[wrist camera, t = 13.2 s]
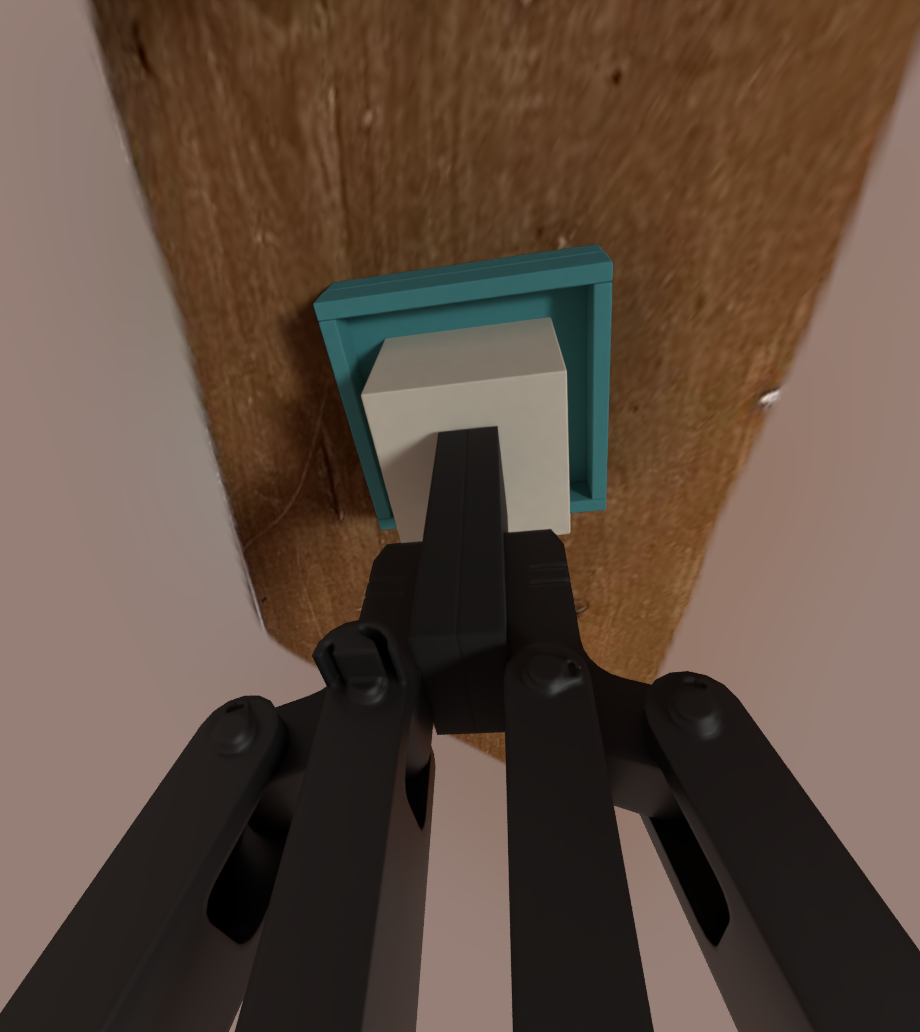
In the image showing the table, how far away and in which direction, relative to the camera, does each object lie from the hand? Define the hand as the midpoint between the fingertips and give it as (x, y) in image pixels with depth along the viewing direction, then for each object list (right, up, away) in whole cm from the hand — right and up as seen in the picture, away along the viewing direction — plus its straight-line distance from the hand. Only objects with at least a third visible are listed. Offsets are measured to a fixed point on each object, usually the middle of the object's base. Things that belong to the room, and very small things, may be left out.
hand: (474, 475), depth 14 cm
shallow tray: (0, +3, +4) cm, 5 cm away
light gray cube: (0, +3, +3) cm, 4 cm away
